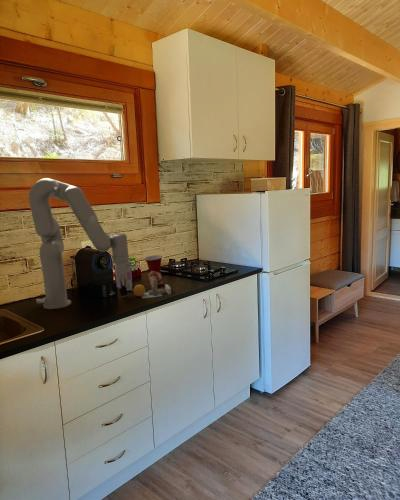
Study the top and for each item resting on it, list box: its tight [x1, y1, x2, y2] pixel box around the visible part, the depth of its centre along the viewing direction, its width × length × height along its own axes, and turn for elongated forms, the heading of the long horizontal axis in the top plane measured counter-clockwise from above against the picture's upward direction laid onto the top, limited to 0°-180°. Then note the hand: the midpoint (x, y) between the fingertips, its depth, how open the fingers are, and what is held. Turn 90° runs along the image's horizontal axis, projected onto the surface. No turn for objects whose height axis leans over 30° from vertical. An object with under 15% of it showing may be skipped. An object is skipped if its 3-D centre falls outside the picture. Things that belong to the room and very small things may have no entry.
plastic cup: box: [144, 254, 163, 273], centre depth 235 cm, size 11×11×12 cm
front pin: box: [147, 288, 167, 295], centre depth 194 cm, size 2×2×8 cm
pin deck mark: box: [140, 291, 163, 299], centre depth 193 cm, size 10×10×1 cm
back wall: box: [164, 283, 172, 295], centre depth 196 cm, size 2×9×3 cm, turn 15°
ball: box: [132, 283, 146, 297], centre depth 191 cm, size 6×6×6 cm
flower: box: [146, 271, 164, 287], centre depth 211 cm, size 10×9×8 cm
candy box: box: [114, 259, 134, 292], centre depth 207 cm, size 14×6×16 cm, turn 26°
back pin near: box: [152, 279, 158, 296], centre depth 190 cm, size 2×2×8 cm
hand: (123, 295), depth 189 cm, fingers closed
